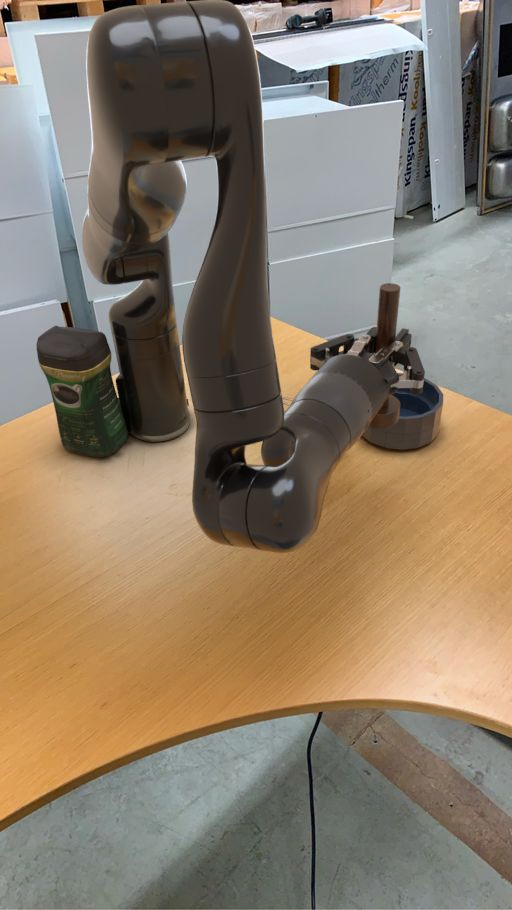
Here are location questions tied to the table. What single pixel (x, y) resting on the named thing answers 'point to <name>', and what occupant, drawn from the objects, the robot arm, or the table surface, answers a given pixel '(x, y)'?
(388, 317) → the brown peg stand
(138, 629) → the table surface
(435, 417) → the bowl
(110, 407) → the coffee jar
